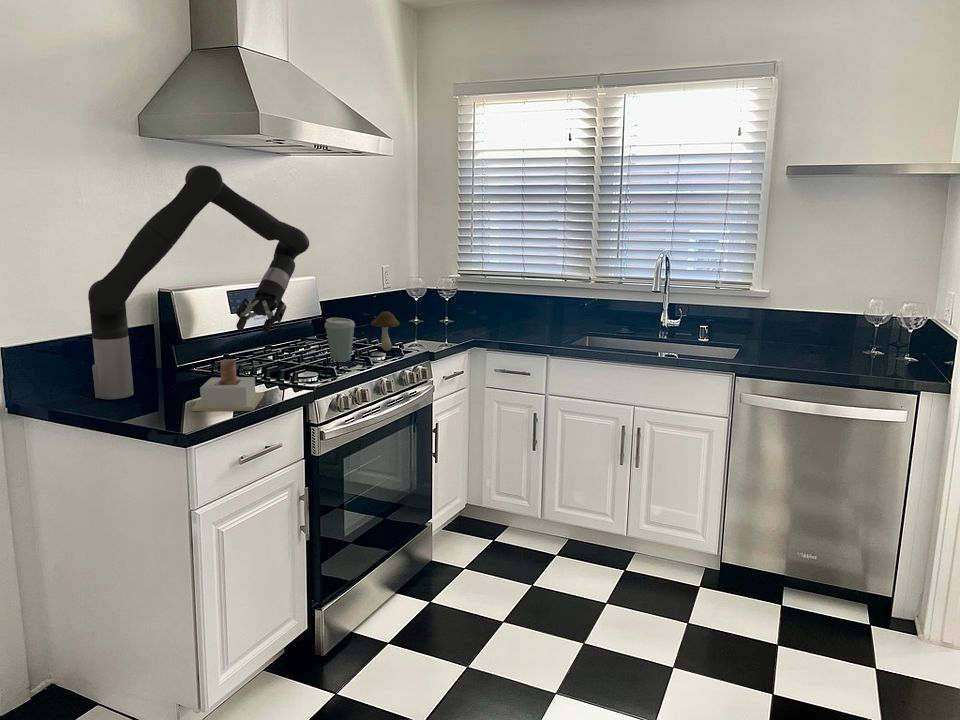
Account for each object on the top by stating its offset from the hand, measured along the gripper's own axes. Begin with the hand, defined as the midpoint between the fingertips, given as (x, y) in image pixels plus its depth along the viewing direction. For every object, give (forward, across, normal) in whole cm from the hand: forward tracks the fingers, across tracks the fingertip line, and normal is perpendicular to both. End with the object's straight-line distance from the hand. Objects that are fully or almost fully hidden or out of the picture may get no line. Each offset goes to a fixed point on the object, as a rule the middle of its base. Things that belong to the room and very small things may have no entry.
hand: (251, 330), depth 217 cm
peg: (+21, 0, +4) cm, 21 cm away
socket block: (+22, 0, +5) cm, 22 cm away
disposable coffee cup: (-20, +1, +48) cm, 52 cm away
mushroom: (-36, +7, +64) cm, 74 cm away
